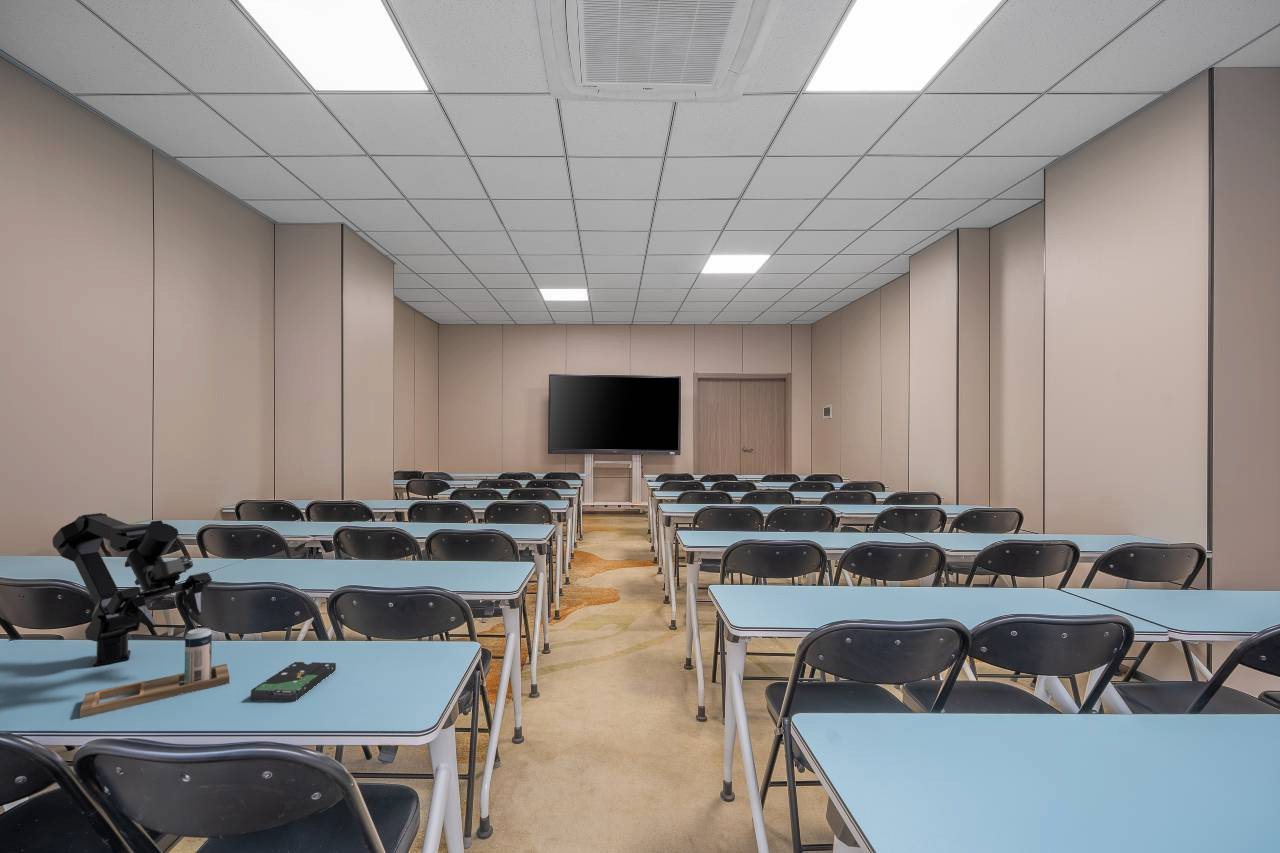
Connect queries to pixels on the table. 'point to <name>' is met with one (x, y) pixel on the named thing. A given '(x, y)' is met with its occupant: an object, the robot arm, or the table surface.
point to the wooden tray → (148, 691)
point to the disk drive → (292, 681)
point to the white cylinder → (198, 655)
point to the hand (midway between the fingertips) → (177, 620)
